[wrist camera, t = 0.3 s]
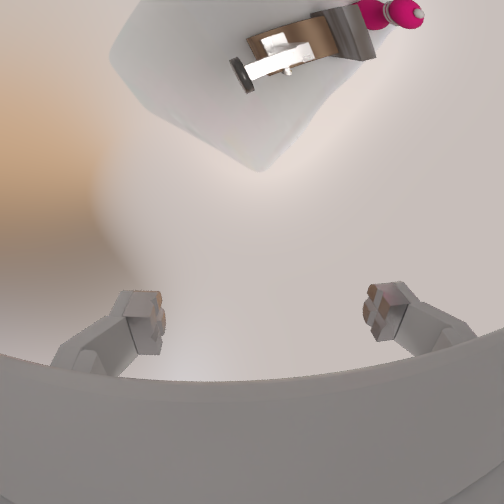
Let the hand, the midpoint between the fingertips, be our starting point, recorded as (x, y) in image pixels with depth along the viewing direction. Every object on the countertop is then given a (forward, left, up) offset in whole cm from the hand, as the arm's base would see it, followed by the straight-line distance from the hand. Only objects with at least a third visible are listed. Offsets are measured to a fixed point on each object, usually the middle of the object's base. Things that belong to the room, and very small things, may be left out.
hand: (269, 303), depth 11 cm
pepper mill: (-33, +12, -50) cm, 61 cm away
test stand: (-18, +6, -50) cm, 53 cm away
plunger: (-10, +2, -47) cm, 48 cm away
